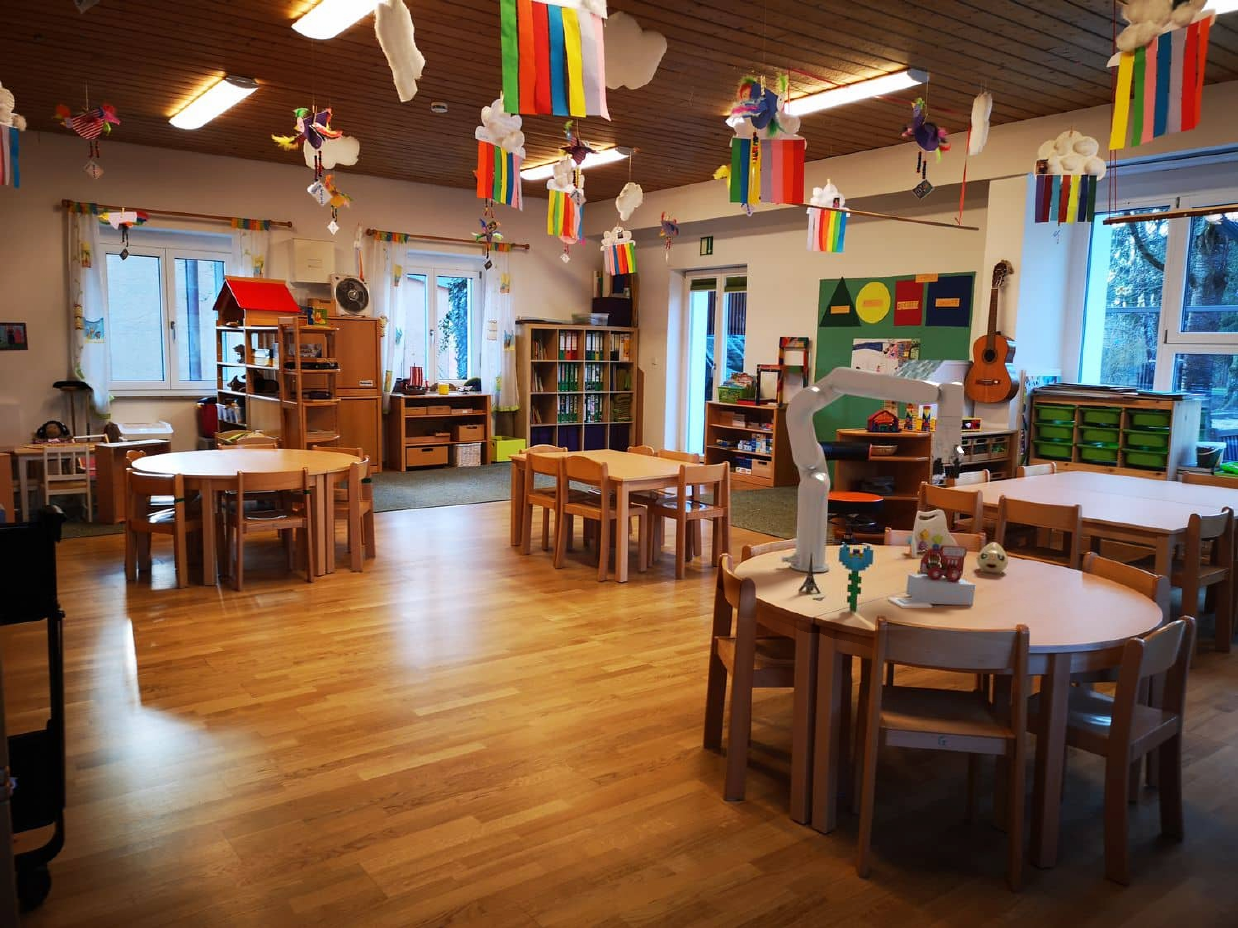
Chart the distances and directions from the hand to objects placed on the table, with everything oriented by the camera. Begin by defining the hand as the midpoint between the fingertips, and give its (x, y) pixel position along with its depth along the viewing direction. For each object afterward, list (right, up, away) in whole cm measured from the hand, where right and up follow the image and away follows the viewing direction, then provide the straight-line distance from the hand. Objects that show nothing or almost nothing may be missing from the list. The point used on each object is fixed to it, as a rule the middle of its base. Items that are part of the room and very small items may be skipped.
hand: (945, 476), depth 276 cm
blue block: (-9, -36, -18) cm, 41 cm away
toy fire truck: (-8, -30, -18) cm, 36 cm away
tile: (-19, -36, -23) cm, 47 cm away
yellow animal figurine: (+23, -33, +20) cm, 45 cm away
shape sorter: (+9, -31, +43) cm, 54 cm away
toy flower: (-37, -37, -31) cm, 61 cm away
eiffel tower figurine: (-45, -35, -13) cm, 59 cm away
